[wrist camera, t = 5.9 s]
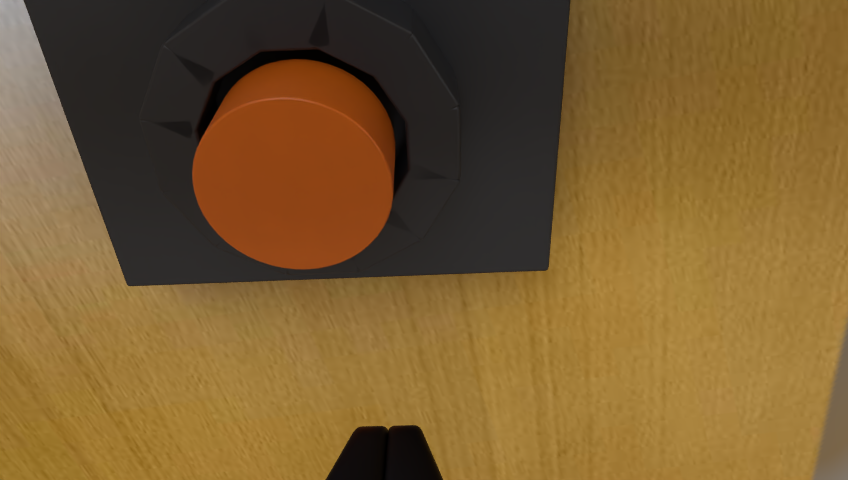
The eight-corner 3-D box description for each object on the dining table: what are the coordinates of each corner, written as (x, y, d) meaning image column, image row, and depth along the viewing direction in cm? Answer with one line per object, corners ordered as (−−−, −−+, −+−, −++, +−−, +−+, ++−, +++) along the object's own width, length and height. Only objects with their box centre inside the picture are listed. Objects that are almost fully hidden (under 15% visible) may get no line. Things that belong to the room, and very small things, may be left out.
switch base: (562, -140, 16) (601, -113, 12) (537, 228, 21) (560, 313, 18) (34, -116, 16) (-66, -84, 12) (150, 243, 21) (103, 330, 18)
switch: (389, 54, 14) (386, 93, 13) (400, 215, 17) (399, 266, 15) (197, 61, 14) (169, 101, 13) (235, 222, 17) (214, 274, 15)
